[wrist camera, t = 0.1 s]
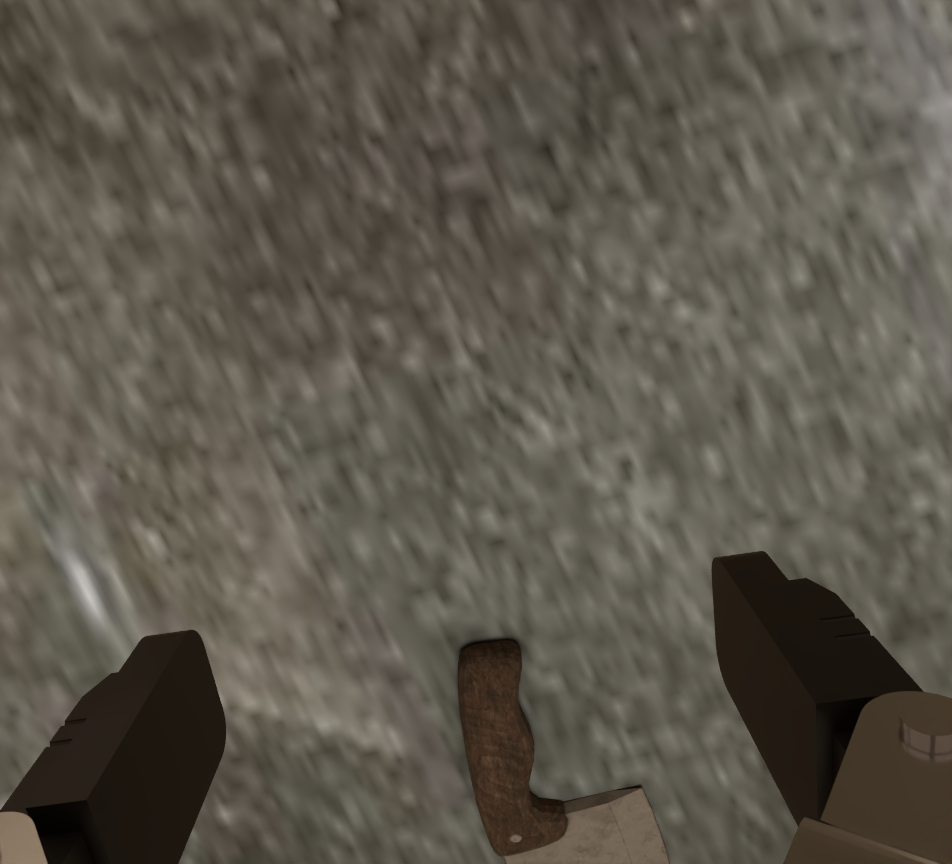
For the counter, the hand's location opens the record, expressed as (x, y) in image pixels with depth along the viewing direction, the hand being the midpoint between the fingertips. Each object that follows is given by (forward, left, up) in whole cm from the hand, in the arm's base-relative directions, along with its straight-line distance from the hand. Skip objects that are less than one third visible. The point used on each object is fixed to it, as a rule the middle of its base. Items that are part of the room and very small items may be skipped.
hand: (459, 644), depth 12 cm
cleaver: (+28, +18, -23) cm, 41 cm away
